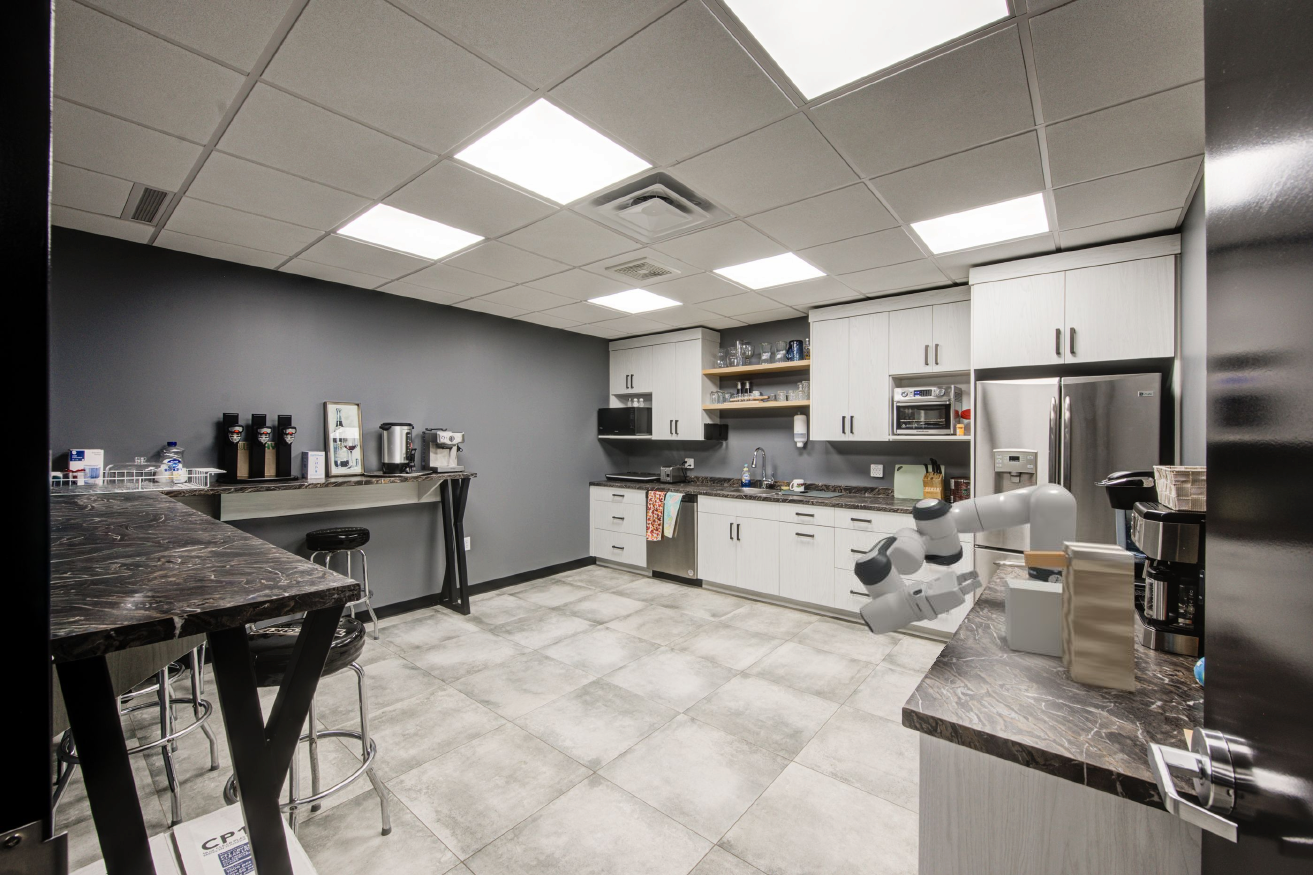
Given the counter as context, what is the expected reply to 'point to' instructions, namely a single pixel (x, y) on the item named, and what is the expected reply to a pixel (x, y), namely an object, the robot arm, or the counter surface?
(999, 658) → the counter surface
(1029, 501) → the robot arm
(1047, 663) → the counter surface
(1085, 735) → the counter surface
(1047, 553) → the plug
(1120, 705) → the counter surface
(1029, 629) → the pedestal
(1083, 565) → the socket tower
